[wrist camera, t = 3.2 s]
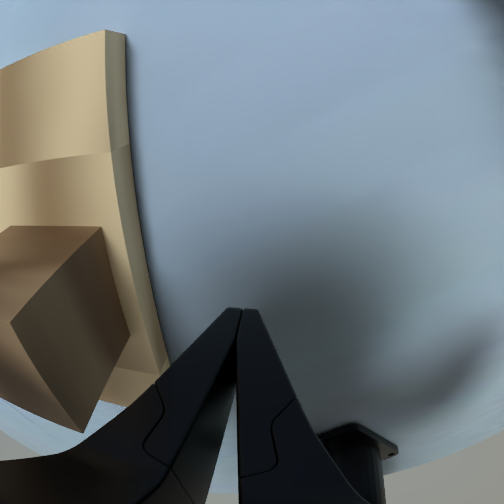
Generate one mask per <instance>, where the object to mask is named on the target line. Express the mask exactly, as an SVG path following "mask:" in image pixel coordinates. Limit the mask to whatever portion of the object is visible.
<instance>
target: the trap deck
mask: <svg viewBox="0 0 504 504" xmlns="http://www.w3.org/2000/svg"><path fill="white" fill-rule="evenodd" d="M9 226H101V227H102V232H103V236H104V241H105V245H106V250H107V254H108V258H109V262H110V266H111V270H112V274H113V278H114V282H115V285H116V289H117V293H118V296H119V300H120V303H121V306H122V310H123V313H124V316H125V320H126V323H127V326H128V329H129V332H130V335H131V336H130V338H129V339H128V341H127V343H126V345H125V347H124V349H123V351H122V353H121V355H120V357H119V359H118V361H117V363H116V365H115V367H114V369H113V371H112V373H111V375H110V377H109V379H108V381H107V383H106V385H105V388H104V390H103V392H102V394H101V396H100V398H99V400H102V401H106V402H109V403H113V404H117V405H121V406H125V407H128V406H130V405H131V404H132V403H133V402H134V401H135V400H136V399H137V398H138V397H139V396H140V395H141V394H143V393H144V392H145V391H146V390H147V389H148V388H149V387H150V386H151V385H152V384H155V381H156V380H157V379H158V378H159V377H160V376H161V375H162V374H163V373H164V372H165V371H166V370H167V369H168V368H169V367H170V363H169V359H168V355H167V352H166V348H165V344H164V340H163V336H162V332H161V328H160V324H159V319H158V315H157V311H156V306H155V302H154V297H153V293H152V288H151V283H150V278H149V273H148V268H147V263H146V258H145V252H144V246H143V241H142V235H141V229H140V222H139V216H138V209H137V202H136V195H135V187H134V179H133V170H132V161H131V152H130V141H129V129H128V115H127V98H126V71H125V34H122V33H118V32H114V31H109V30H102V31H98V32H95V33H91V34H88V35H85V36H82V37H79V38H75V39H72V40H69V41H67V42H64V43H61V44H58V45H55V46H53V47H50V48H48V49H45V50H43V51H40V52H38V53H35V54H33V55H30V56H28V57H26V58H24V59H21V60H19V61H17V62H15V63H13V64H11V65H9V66H6V67H4V68H2V69H0V233H1V232H2V231H4V230H5V229H6V228H8V227H9Z"/></svg>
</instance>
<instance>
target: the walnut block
mask: <svg viewBox="0 0 504 504" xmlns="http://www.w3.org/2000/svg"><path fill="white" fill-rule="evenodd" d="M130 336H131V335H130V332H129V329H128V326H127V323H126V320H125V316H124V313H123V310H122V306H121V303H120V300H119V296H118V293H117V289H116V285H115V282H114V278H113V274H112V270H111V266H110V262H109V258H108V254H107V250H106V245H105V241H104V236H103V232H102V227H101V226H9V227H8V228H6V229H5V230H4V231H2V232H1V233H0V397H1V398H3V399H4V400H6V401H8V402H10V403H12V404H14V405H16V406H18V407H20V408H22V409H25V410H27V411H29V412H31V413H33V414H35V415H38V416H40V417H42V418H44V419H47V420H49V421H52V422H54V423H56V424H59V425H61V426H64V427H67V428H69V429H72V430H75V431H77V432H80V433H84V431H85V429H86V426H87V424H88V422H89V420H90V418H91V415H92V413H93V411H94V409H95V407H96V404H97V402H98V400H99V398H100V396H101V394H102V392H103V390H104V388H105V385H106V383H107V381H108V379H109V377H110V375H111V373H112V371H113V369H114V367H115V365H116V363H117V361H118V359H119V357H120V355H121V353H122V351H123V349H124V347H125V345H126V343H127V341H128V339H129V338H130Z"/></svg>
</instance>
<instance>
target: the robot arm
mask: <svg viewBox="0 0 504 504" xmlns="http://www.w3.org/2000/svg"><path fill="white" fill-rule="evenodd" d="M235 390H236V400H237V452H238V492H239V504H386V499H385V488H384V479H383V471H382V463H381V461H383V460H385V459H388V458H390V457H393V456H395V455H397V454H398V453H399V452H398V447H396V446H395V445H393V444H391V443H389V442H388V441H386V440H384V439H382V438H381V437H379V436H377V435H375V434H374V433H372V432H370V431H369V430H367V429H365V428H363V427H362V426H360V425H358V424H349V425H346V426H344V427H341V428H339V429H337V430H334V431H332V432H329V433H326V434H324V435H321V436H317V435H316V433H315V432H314V430H313V428H312V427H311V425H310V423H309V421H308V419H307V417H306V415H305V413H304V411H303V409H302V407H301V404H300V402H299V400H298V399H297V396H296V394H295V392H294V389H293V387H292V385H291V383H290V381H289V378H288V376H287V374H286V372H285V369H284V367H283V365H282V363H281V360H280V358H279V356H278V354H277V351H276V349H275V347H274V345H273V342H272V340H271V338H270V336H269V333H268V331H267V329H266V327H265V324H264V322H263V320H262V317H261V315H260V313H259V311H258V310H257V309H246V308H245V309H243V310H242V309H241V308H232V307H228V308H226V309H225V310H224V312H223V313H222V314H221V315H220V316H219V317H218V318H217V319H216V320H215V321H214V322H213V323H212V324H211V325H210V326H209V327H208V328H207V329H206V330H205V331H204V332H203V333H202V334H201V335H200V336H199V337H198V338H197V339H196V340H195V341H194V342H193V343H192V344H191V345H190V346H189V347H188V348H187V350H186V351H185V352H184V353H183V354H182V355H181V356H180V357H179V358H178V359H177V360H176V361H175V362H174V363H173V364H172V365H171V366H170V367H169V368H168V369H167V370H166V371H165V372H164V373H163V374H162V375H161V376H160V377H159V378H158V379H157V380H156V381H155V384H152V385H151V386H150V387H149V388H148V389H147V390H146V391H145V392H144V393H143V394H141V395H140V396H139V397H138V398H137V399H136V400H135V401H134V402H133V403H132V404H131V405H130V406H128V407H127V408H126V409H125V410H123V411H122V412H121V413H120V414H118V415H117V416H116V417H115V418H113V419H112V420H111V421H109V422H108V423H107V424H106V425H104V426H103V427H102V428H100V429H99V430H98V431H96V432H95V433H93V434H92V435H91V436H89V437H88V438H87V439H85V440H84V441H83V442H81V443H80V444H78V445H77V446H75V447H73V448H71V449H69V450H67V451H64V452H61V453H58V454H53V455H47V456H40V457H33V458H25V459H16V460H6V461H0V504H205V502H206V498H207V495H208V491H209V488H210V484H211V481H212V477H213V473H214V470H215V466H216V462H217V459H218V455H219V451H220V447H221V444H222V440H223V436H224V432H225V429H226V425H227V421H228V417H229V414H230V410H231V406H232V402H233V398H234V394H235Z"/></svg>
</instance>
